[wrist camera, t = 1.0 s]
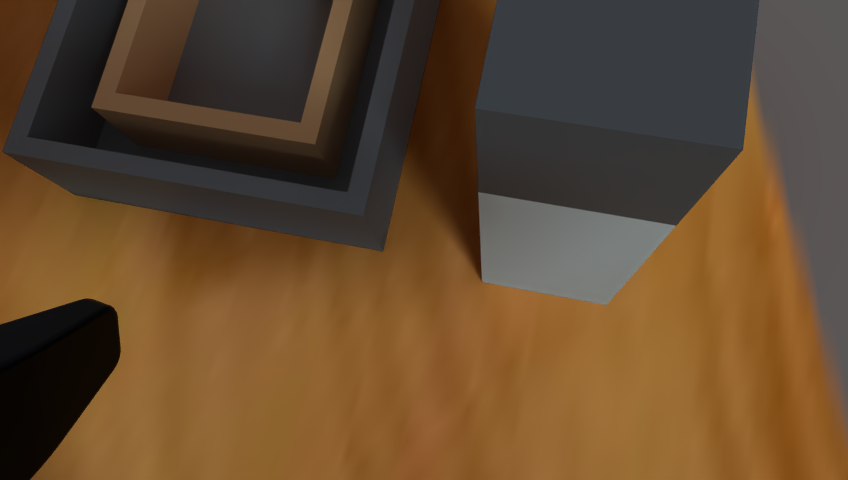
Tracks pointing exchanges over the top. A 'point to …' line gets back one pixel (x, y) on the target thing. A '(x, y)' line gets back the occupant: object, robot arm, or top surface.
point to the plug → (603, 133)
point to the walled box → (231, 109)
